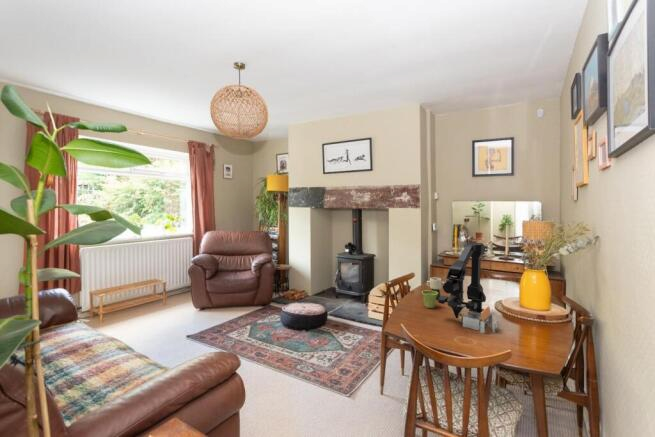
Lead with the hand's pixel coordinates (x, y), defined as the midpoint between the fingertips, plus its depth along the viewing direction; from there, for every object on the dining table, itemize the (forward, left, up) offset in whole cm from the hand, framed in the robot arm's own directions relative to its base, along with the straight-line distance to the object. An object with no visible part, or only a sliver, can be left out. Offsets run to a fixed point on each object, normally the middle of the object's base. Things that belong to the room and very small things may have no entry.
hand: (457, 318), depth 175 cm
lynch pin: (0, +9, -1) cm, 9 cm away
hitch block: (0, +12, -2) cm, 12 cm away
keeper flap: (0, +15, +5) cm, 16 cm away
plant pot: (-14, -21, -2) cm, 26 cm away
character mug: (-32, -25, -2) cm, 41 cm away
